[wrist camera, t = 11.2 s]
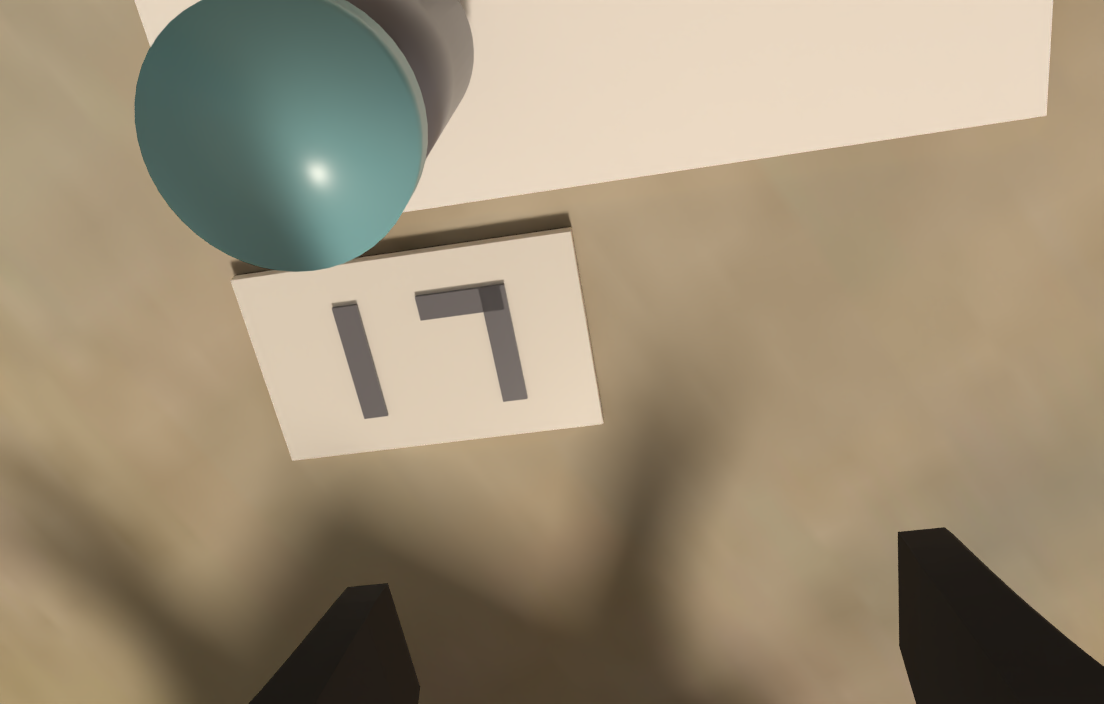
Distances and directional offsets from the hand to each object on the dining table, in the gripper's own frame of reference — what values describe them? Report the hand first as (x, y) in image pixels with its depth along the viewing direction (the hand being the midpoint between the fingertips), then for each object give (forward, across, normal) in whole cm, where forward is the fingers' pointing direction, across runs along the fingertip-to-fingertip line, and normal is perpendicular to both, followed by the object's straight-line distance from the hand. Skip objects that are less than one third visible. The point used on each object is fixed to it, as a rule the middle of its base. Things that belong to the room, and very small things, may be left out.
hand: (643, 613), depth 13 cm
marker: (+10, +4, -7) cm, 13 cm away
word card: (+10, +5, 0) cm, 11 cm away
